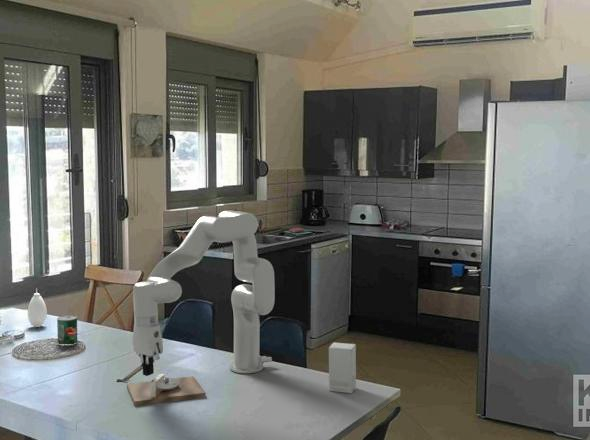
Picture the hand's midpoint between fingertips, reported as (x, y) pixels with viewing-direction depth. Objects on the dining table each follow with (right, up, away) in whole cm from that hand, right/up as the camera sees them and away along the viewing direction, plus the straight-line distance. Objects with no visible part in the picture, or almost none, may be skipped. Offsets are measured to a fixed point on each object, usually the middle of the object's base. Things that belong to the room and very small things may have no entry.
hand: (148, 374), depth 225 cm
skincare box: (+64, -8, +9) cm, 65 cm away
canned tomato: (-46, -1, +58) cm, 74 cm away
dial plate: (+5, -7, +5) cm, 10 cm away
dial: (+4, -5, +2) cm, 7 cm away
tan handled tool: (-9, -5, +23) cm, 26 cm away
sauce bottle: (-68, +2, +83) cm, 107 cm away
